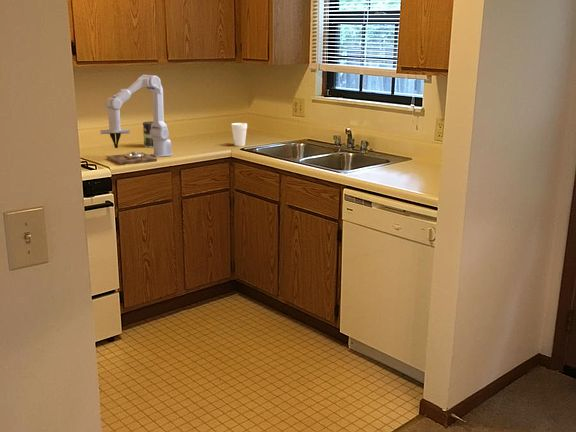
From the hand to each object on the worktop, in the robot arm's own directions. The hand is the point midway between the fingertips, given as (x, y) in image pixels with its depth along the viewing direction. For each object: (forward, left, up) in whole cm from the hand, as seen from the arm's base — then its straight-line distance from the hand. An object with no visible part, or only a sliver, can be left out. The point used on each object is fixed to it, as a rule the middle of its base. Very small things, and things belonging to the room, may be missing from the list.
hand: (116, 147), depth 319 cm
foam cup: (-81, -13, -8) cm, 82 cm away
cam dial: (-10, -2, -6) cm, 12 cm away
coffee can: (-35, -37, -8) cm, 52 cm away
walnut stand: (-9, -3, -8) cm, 12 cm away
